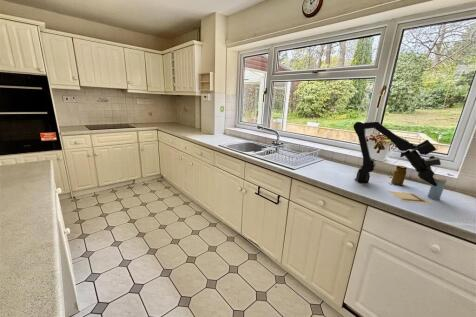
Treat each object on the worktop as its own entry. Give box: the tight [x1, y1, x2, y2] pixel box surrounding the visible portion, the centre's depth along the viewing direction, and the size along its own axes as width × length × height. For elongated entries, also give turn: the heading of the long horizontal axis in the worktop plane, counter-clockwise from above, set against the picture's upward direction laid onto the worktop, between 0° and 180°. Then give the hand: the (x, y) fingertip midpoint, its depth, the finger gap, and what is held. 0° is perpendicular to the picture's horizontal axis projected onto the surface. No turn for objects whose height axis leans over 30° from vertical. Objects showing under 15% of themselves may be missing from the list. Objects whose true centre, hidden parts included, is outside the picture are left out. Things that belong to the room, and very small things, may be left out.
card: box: [388, 190, 433, 205], centre depth 114 cm, size 15×13×1 cm
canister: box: [426, 176, 448, 201], centre depth 113 cm, size 5×5×12 cm
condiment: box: [389, 164, 408, 187], centre depth 131 cm, size 7×8×12 cm
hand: (434, 183), depth 113 cm, fingers open, 9 cm apart
